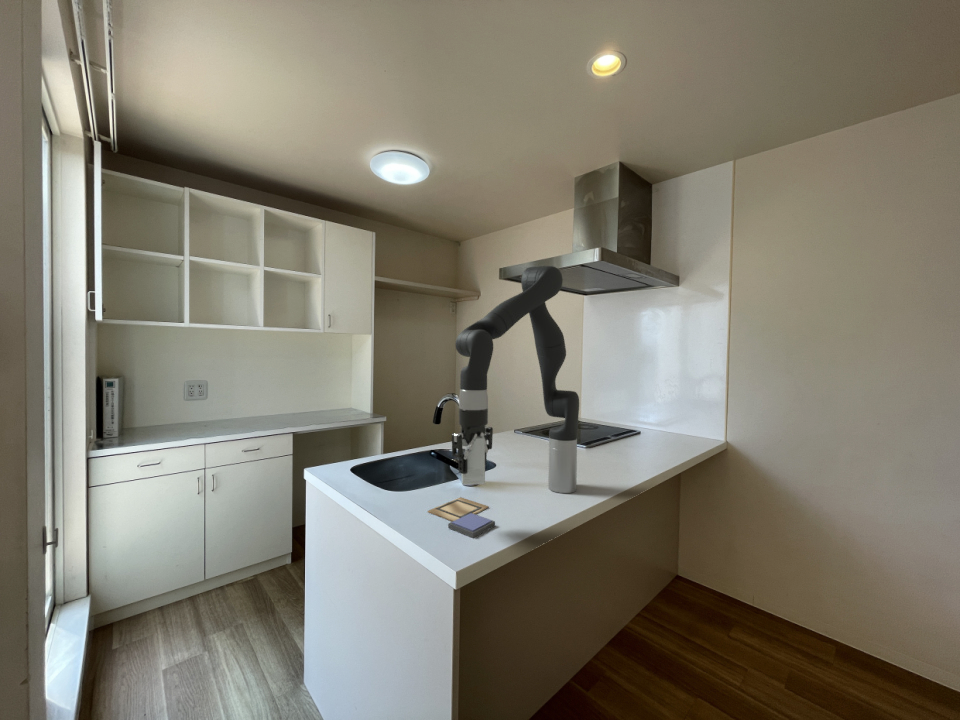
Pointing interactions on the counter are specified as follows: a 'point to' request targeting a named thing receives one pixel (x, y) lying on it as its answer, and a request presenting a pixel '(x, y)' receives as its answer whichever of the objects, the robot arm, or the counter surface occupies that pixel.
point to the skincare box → (475, 463)
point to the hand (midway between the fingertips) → (472, 469)
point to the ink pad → (471, 525)
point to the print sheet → (457, 509)
